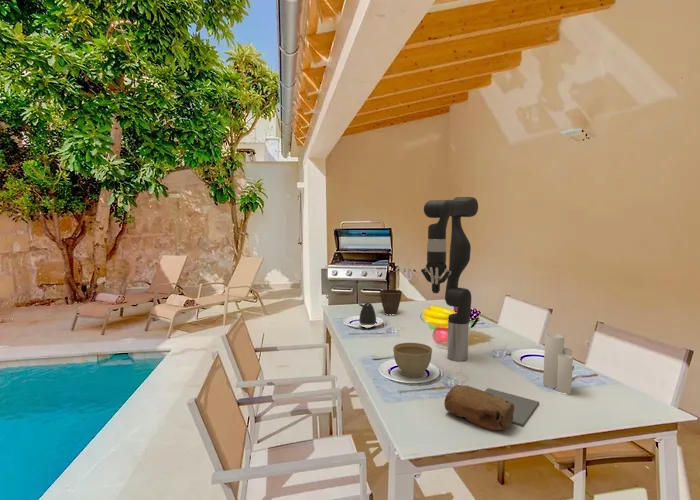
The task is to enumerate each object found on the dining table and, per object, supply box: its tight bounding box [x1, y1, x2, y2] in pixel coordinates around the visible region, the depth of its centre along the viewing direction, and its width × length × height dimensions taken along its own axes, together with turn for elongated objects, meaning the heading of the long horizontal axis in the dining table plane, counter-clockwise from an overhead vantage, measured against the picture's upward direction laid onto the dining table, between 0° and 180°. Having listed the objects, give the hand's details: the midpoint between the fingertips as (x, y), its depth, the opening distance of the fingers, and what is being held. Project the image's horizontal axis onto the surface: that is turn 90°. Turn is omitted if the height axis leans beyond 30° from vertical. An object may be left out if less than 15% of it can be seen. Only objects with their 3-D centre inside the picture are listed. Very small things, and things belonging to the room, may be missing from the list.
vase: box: [542, 332, 574, 394], centre depth 150 cm, size 11×7×20 cm, turn 27°
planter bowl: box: [392, 342, 433, 378], centre depth 165 cm, size 16×16×11 cm
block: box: [444, 384, 514, 431], centre depth 127 cm, size 11×8×20 cm
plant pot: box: [379, 289, 403, 315], centre depth 270 cm, size 15×15×16 cm
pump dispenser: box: [358, 302, 377, 326], centre depth 236 cm, size 10×10×15 cm
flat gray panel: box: [484, 387, 540, 428], centre depth 136 cm, size 20×18×1 cm
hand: (435, 292), depth 159 cm, fingers closed
